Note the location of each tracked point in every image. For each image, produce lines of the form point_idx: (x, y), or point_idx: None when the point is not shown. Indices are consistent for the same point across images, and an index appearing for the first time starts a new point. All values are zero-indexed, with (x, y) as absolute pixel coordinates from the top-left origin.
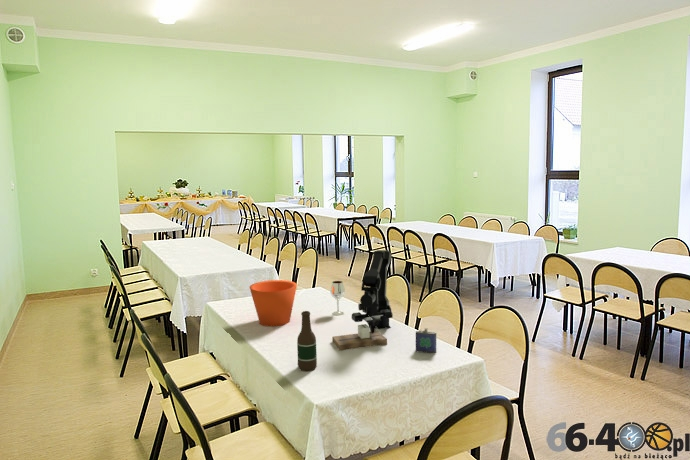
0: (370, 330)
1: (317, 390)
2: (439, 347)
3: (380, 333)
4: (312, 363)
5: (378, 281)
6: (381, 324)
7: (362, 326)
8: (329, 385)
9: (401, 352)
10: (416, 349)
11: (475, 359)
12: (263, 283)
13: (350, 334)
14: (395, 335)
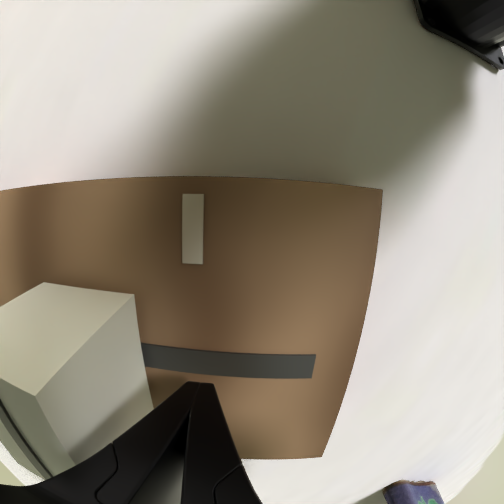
0: (167, 402)
1: (28, 484)
2: (473, 453)
3: (365, 306)
4: None
5: None
6: (465, 15)
7: (10, 436)
8: None
9: (314, 499)
10: (385, 496)
11: (447, 501)
12: None
13: (4, 193)
14: (486, 253)
